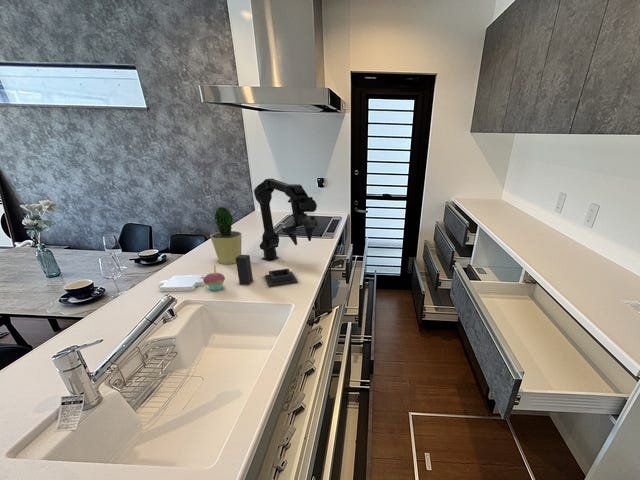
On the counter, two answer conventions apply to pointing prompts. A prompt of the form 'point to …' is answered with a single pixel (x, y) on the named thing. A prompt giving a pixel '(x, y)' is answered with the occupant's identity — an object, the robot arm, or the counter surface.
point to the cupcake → (214, 280)
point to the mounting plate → (182, 283)
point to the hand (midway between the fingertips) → (303, 243)
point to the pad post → (244, 269)
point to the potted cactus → (226, 237)
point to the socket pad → (280, 278)
